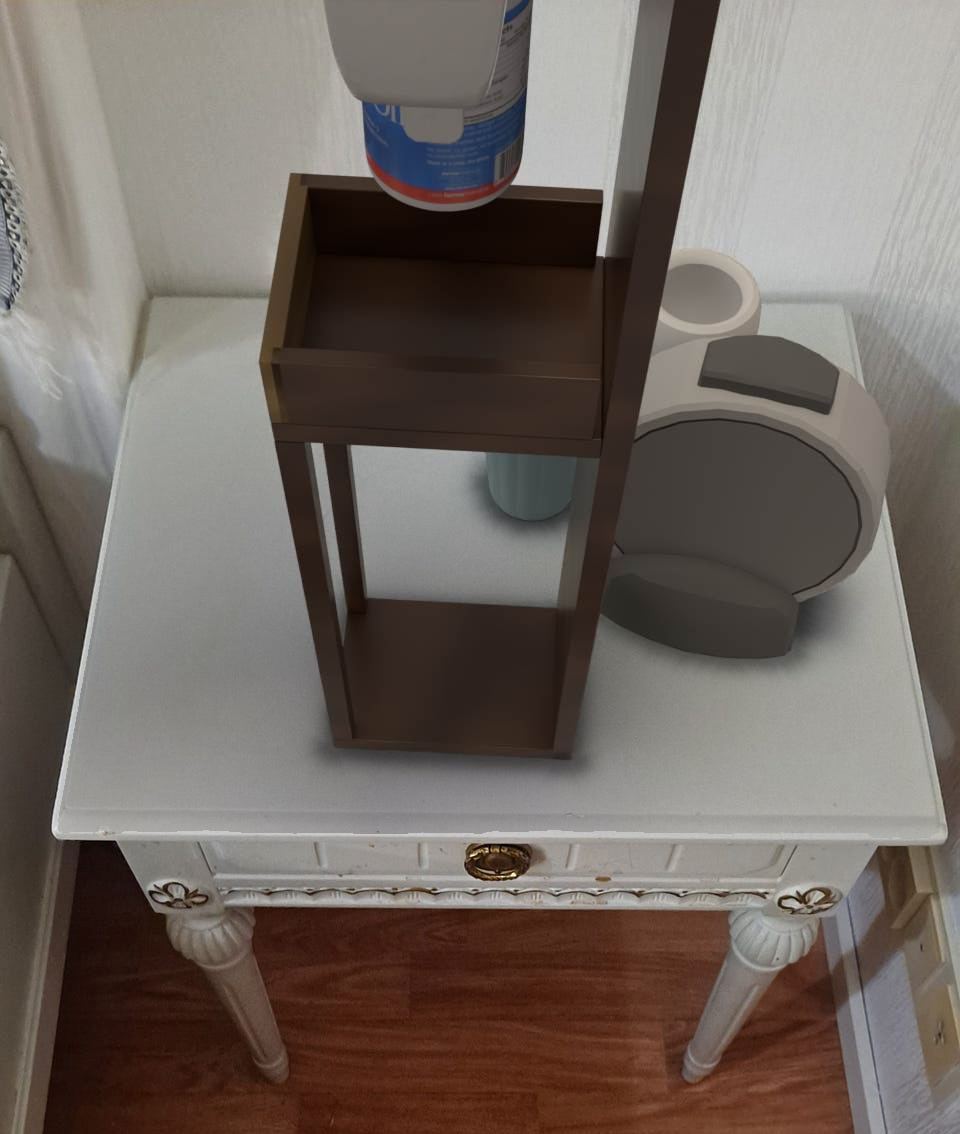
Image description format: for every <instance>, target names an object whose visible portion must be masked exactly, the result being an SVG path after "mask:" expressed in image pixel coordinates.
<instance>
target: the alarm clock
mask: <svg viewBox="0 0 960 1134" xmlns="http://www.w3.org/2000/svg"><path fill="white" fill-rule="evenodd" d="M891 461H892V453H891V443H890V429H889V427H888V425H887V423H886V421H885V418H884V417H883V414H882V413H881V410H880V408H879V405H878V404H877V402H876V400H875V398H874V397H873V396H872V395H871V394H870V393H869V392H868V391H867V390H866V388H864V387H863V386H862V384H861V383H860V382H859V381H858V380H857V379H856V378H855V377H854V376H853V375H852V374H851V373H850V372H848V371H847V370H846V369H844V368H842V367H841V366H839V365H837V364H836V363H834V362H832V361H831V360H829V359H827V358H826V357H824V356H823V355H821V354H820V353H818V352H816V351H814V350H812V349H811V348H808V347H807V346H804V345H802V344H801V343H798V342H796V341H792V340H790V339H787V338H784V337H782V336H775V335H765V334H763V335H762V334H757V335H743V336H739V335H733V336H724V337H715V338H705V339H696V340H693V341H690V342H687V343H684V344H681V345H679V346H676V347H673V348H670V349H667V350H664V351H661V352H659V353H658V354H656V355H655V356H653V357H652V358H650V363H649V368H648V373H647V378H646V383H645V388H644V393H643V398H642V403H641V408H640V413H639V418H638V423H637V428H636V434H635V439H634V444H633V449H632V454H631V459H630V464H629V469H628V474H627V479H626V484H625V489H624V494H623V500H622V505H621V510H620V515H619V520H618V525H617V530H616V535H615V540H614V545H613V550H612V555H611V560H610V566H609V571H608V576H607V581H606V586H605V591H604V596H603V601H602V606H601V611H600V614H602V615H604V616H605V617H607V618H608V619H610V620H611V621H613V622H614V623H616V625H619V626H621V627H623V628H625V629H627V630H630V631H632V632H634V633H635V634H638V635H640V636H642V637H644V638H647V639H648V640H651V641H654V642H656V643H660V644H663V645H666V646H669V647H672V648H676V649H679V650H681V651H685V652H690V653H695V654H696V653H697V654H701V655H708V656H714V657H720V658H740V659H742V658H743V659H764V658H772V657H774V658H775V657H783V656H785V655H786V654H788V653H789V652H790V651H791V650H792V645H793V639H794V636H795V630H796V625H797V620H798V616H799V611H800V606H801V602H804V601H806V600H809V599H810V598H813V597H816V596H818V595H821V594H823V593H825V592H829V591H830V590H832V589H833V588H835V587H836V586H837V585H839V584H840V583H842V582H843V581H845V580H846V579H847V578H849V577H850V576H851V575H853V574H854V573H856V571H857V570H858V569H859V567H860V566H861V565H862V563H863V562H864V561H865V559H866V558H867V557H868V556H869V554H870V553H871V551H872V550H873V547H874V543H875V540H876V537H877V533H878V530H879V527H880V523H881V518H882V512H883V506H884V500H885V495H886V490H887V484H888V478H889V472H890V468H891Z"/></svg>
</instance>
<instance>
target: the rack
mask: <svg viewBox="0 0 960 1134" xmlns="http://www.w3.org/2000/svg"><path fill="white" fill-rule="evenodd" d="M721 1H722V0H639V3H638V11H637V18H636V25H635V32H634V40H633V47H632V55H631V62H630V68H629V76H628V83H627V91H626V99H625V106H624V113H623V118H622V119H623V120H622V127H621V135H620V140H619V141H620V142H619V149H618V155H617V164H616V171H615V179H614V185H613V193H612V201H611V206H610V207H611V208H610V214H609V222H608V228H607V229H608V230H607V236H606V243H605V250H604V251H605V252H604V256H603V255H598V249H599V248H598V247H599V241H600V239H599V238H600V231H601V224H602V218H603V217H602V215H603V208H604V190H603V189H599V188H598V189H597V188H581V187H580V188H579V187H562V186H545V185H544V186H543V185H528V184H527V185H524V184H511V185H510V186H509V187H508V188H507V189H506V190H505V191H504V192H503V193H502V194H501V195H499V196H498V197H497V198H495V199H494V200H492V201H490V202H488V203H486V204H484V205H481V206H478V207H475V208H471V209H466V210H460V211H433V210H426V209H421V208H418V207H414V206H411V205H408V204H406V203H403V202H401V201H399V200H397V199H396V198H394V197H392V196H391V195H389V194H388V193H387V192H386V191H385V190H383V189H382V188H381V186H380V185H379V184H378V183H377V182H376V180H375V179H374V177H373V176H357V175H339V174H338V175H337V174H320V173H319V174H318V173H305V172H304V173H302V172H290V173H289V176H288V177H289V178H288V184H287V188H286V195H285V201H284V207H283V213H282V220H281V224H280V225H281V226H280V231H279V237H278V244H277V249H276V256H275V262H274V267H273V274H272V278H271V279H272V280H271V286H270V292H269V298H268V302H267V303H268V304H267V308H266V315H265V321H264V326H263V327H264V328H263V333H262V338H261V345H260V351H259V357H258V367H259V371H260V376H261V381H262V386H263V392H264V396H265V402H266V407H267V412H268V416H269V417H268V418H269V422H270V427H271V432H272V436H273V442H274V447H275V452H276V458H277V463H278V468H279V473H280V478H281V484H282V488H283V494H284V498H285V499H284V500H285V505H286V508H287V514H288V519H289V524H290V530H291V534H292V539H293V545H294V550H295V553H296V554H295V556H296V560H297V566H298V571H299V576H300V581H301V585H302V591H303V596H304V601H305V606H306V611H307V616H308V620H309V626H310V630H311V637H312V641H313V646H314V651H315V656H316V662H317V667H318V673H319V676H320V683H321V688H322V692H323V698H324V704H325V708H326V713H327V718H328V723H329V728H330V734H331V738H332V744H333V747H335V748H349V749H350V748H351V749H365V750H384V751H385V750H388V751H406V752H423V753H440V754H459V755H461V754H462V755H477V756H478V755H479V756H497V757H512V758H513V757H514V758H516V757H517V758H531V759H532V758H534V759H551V760H569V761H570V760H572V758H573V754H574V748H575V742H576V737H577V733H578V727H579V723H580V719H581V713H582V708H583V702H584V697H585V692H586V686H587V683H588V677H589V671H590V667H591V662H592V657H593V651H594V647H595V641H596V635H597V631H598V625H599V621H600V616H601V612H600V611H601V606H602V601H603V596H604V591H605V586H606V581H607V576H608V571H609V566H610V560H611V555H612V550H613V545H614V540H615V535H616V530H617V525H618V520H619V515H620V510H621V505H622V500H623V494H624V489H625V484H626V479H627V474H628V469H629V464H630V459H631V454H632V449H633V444H634V439H635V434H636V428H637V423H638V418H639V413H640V408H641V403H642V398H643V393H644V388H645V383H646V378H647V373H648V368H649V363H650V357H651V352H652V347H653V342H654V337H655V332H656V327H657V322H658V317H659V312H660V307H661V302H662V297H663V291H664V286H665V281H666V276H667V271H668V266H669V261H670V256H671V252H672V251H673V245H674V241H675V236H676V235H675V234H676V230H677V225H678V219H679V216H680V215H679V214H680V211H681V205H682V201H683V194H684V189H685V186H686V185H685V184H686V179H687V174H688V169H689V163H690V160H691V159H690V158H691V154H692V149H693V144H694V139H695V134H696V129H697V125H698V119H699V113H700V108H701V105H702V98H703V93H704V88H705V83H706V77H707V73H708V68H709V63H710V58H711V54H712V53H711V52H712V48H713V43H714V36H715V32H716V27H717V22H718V17H719V13H720V12H719V11H720V6H721ZM312 444H322V447H323V448H322V449H323V455H324V462H325V463H324V464H325V470H326V476H327V477H326V478H327V483H328V491H329V496H330V504H331V510H332V518H333V525H334V532H335V539H336V546H337V552H338V554H337V555H338V560H339V567H340V574H341V580H342V588H343V595H344V601H345V610H346V618H345V625H344V634H343V635H344V636H343V638H342V632H341V626H340V625H341V624H340V619H339V614H338V607H337V599H336V595H335V593H336V592H335V587H334V582H333V581H334V580H333V577H332V576H333V574H332V568H331V562H330V557H329V550H328V543H327V535H326V530H325V523H324V518H323V510H322V505H321V497H320V492H319V484H318V478H317V472H316V465H315V460H314V453H313V448H312V447H313V446H312ZM352 446H363V447H381V448H400V449H418V450H419V449H420V450H436V451H455V452H472V453H473V452H475V453H485V452H491V453H509V454H528V455H547V456H565V457H577V462H576V469H575V476H574V484H573V491H572V498H571V500H570V506H569V512H568V513H569V514H568V520H567V528H566V535H565V543H564V550H563V556H562V557H563V558H562V564H561V565H562V566H561V572H560V579H559V586H558V593H557V601H556V607H546V606H525V605H508V604H492V603H491V604H490V603H471V602H470V603H469V602H452V601H434V600H433V601H432V600H417V599H416V600H415V599H397V598H381V597H380V598H376V597H369V596H368V595H369V594H368V586H367V578H366V568H365V560H364V552H363V551H364V550H363V541H362V534H361V524H360V516H359V508H358V507H359V506H358V498H357V491H356V480H355V479H356V478H355V471H354V462H353V454H352Z"/></svg>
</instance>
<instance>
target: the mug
mask: <svg viewBox="0 0 960 1134" xmlns="http://www.w3.org/2000/svg"><path fill="white" fill-rule="evenodd" d="M762 308H763V307H762V298H761V293H760V289H759V286H758V282H757V281H756V279H755V276H754V275H753V273H752V272H751V271H750V270H749V269H748V268H747V267H746V266H745V265H744V264H743V263H741V261H738V260H737V259H735V258H734V257H732V256H730V255H728V254H725V253H724V252H721V251H717V250H713V249H709V248H701V247H690V248H689V247H688V248H681V249H676V250H672V251H671V256H670V261H669V266H668V271H667V276H666V281H665V286H664V291H663V297H662V302H661V307H660V312H659V317H658V322H657V327H656V332H655V337H654V342H653V347H652V352H651V357H650V358H652V357H653V356H655V355H656V354H658V353H659V352H661V351H664V350H667V349H670V348H673V347H676V346H679V345H681V344H684V343H687V342H690V341H693V340H696V339H705V338H715V337H724V336H733V335H739V336H743V335H758V333H759V329H760V322H761V316H762V315H761V314H762Z"/></svg>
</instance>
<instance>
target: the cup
mask: <svg viewBox="0 0 960 1134" xmlns="http://www.w3.org/2000/svg"><path fill="white" fill-rule="evenodd" d="M484 453H485V461H486V469H487V470H486V472H487V479H488V480H487V481H488V486H489V487H488V488H489V491H490V494H491V497H492V499H493V501H494V503H495V504H496V506H497V507H498V508H499V509H501V511H503V512H504V513H506V514H507V515H508V516H511V517H513V518H516V519H519V520H523V521H543V520H547V519H550V518H553V517H554V516H556V515H559V514H560V513H561V512H562V511H563V510H565V508H566V507H567V506H568V505H569V503H571V498H572V491H573V484H574V476H575V469H576V462H577V457H565V456H547V455H528V454H509V453H491V452H484Z"/></svg>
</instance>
